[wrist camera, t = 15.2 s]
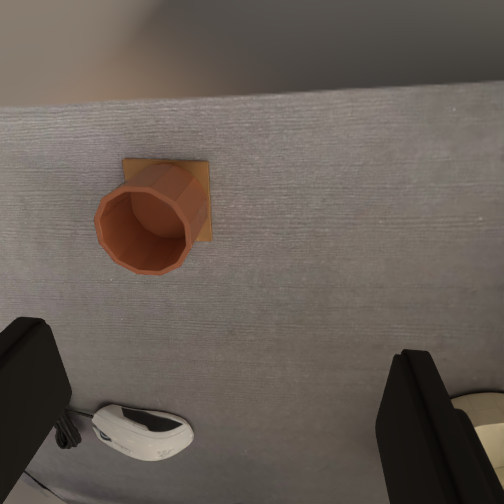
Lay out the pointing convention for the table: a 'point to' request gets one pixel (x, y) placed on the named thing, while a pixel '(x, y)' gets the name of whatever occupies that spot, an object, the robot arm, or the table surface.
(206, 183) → the coaster
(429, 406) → the robot arm
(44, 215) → the table surface
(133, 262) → the terracotta pot
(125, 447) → the computer mouse
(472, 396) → the big bowl
